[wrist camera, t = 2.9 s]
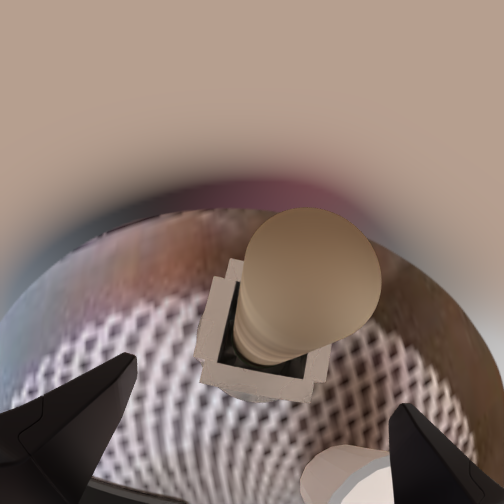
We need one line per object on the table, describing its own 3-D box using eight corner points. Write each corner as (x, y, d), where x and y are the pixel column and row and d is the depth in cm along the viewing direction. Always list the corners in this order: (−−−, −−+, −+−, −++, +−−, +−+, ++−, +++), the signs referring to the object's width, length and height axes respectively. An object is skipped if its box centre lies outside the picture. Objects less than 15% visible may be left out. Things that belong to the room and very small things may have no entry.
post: (284, 373, 17) (377, 355, 7) (225, 361, 17) (225, 327, 7) (295, 317, 19) (383, 224, 8) (238, 305, 19) (257, 192, 8)
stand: (305, 409, 18) (332, 417, 13) (185, 386, 18) (171, 387, 13) (323, 298, 21) (352, 272, 16) (213, 274, 21) (211, 240, 16)
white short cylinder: (280, 454, 16) (307, 486, 10) (372, 422, 18) (430, 430, 11) (301, 529, 14) (331, 576, 7) (387, 495, 15) (440, 521, 9)
